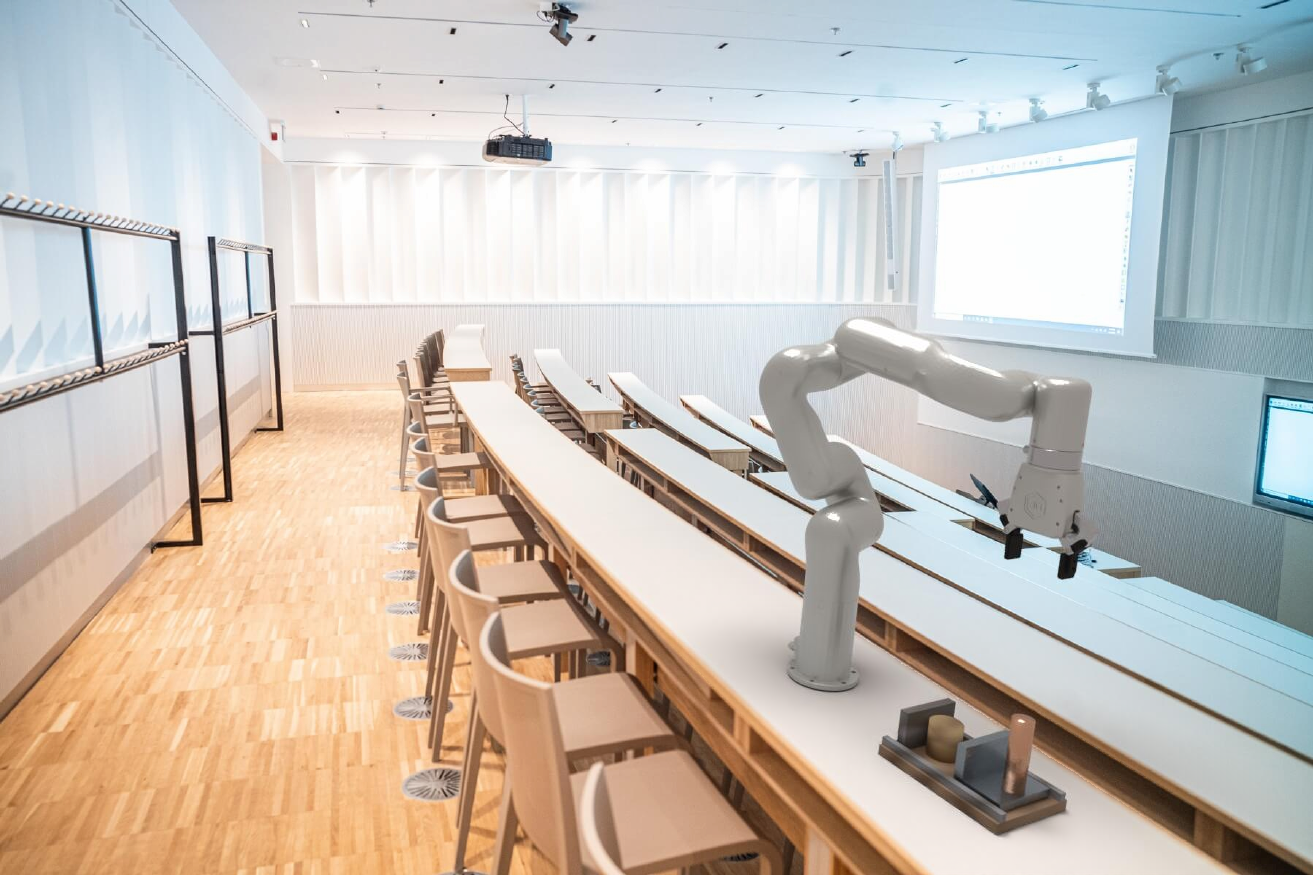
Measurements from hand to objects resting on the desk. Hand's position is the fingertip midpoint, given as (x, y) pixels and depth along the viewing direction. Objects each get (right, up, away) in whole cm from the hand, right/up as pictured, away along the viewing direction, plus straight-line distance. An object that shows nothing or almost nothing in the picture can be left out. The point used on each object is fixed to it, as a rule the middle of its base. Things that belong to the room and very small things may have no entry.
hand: (1038, 568), depth 140 cm
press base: (-14, -29, -8) cm, 33 cm away
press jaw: (-11, -29, -13) cm, 34 cm away
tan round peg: (-16, -27, -5) cm, 32 cm away
